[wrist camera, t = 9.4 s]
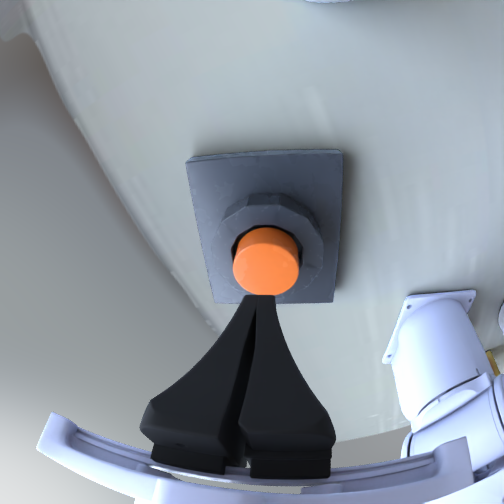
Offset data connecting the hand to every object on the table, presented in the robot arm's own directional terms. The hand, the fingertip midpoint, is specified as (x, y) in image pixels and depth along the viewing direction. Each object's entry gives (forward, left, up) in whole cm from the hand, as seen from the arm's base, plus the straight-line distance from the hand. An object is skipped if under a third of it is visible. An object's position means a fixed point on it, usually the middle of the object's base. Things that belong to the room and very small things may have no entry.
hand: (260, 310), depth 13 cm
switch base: (0, 0, -7) cm, 7 cm away
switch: (0, 0, -5) cm, 5 cm away
